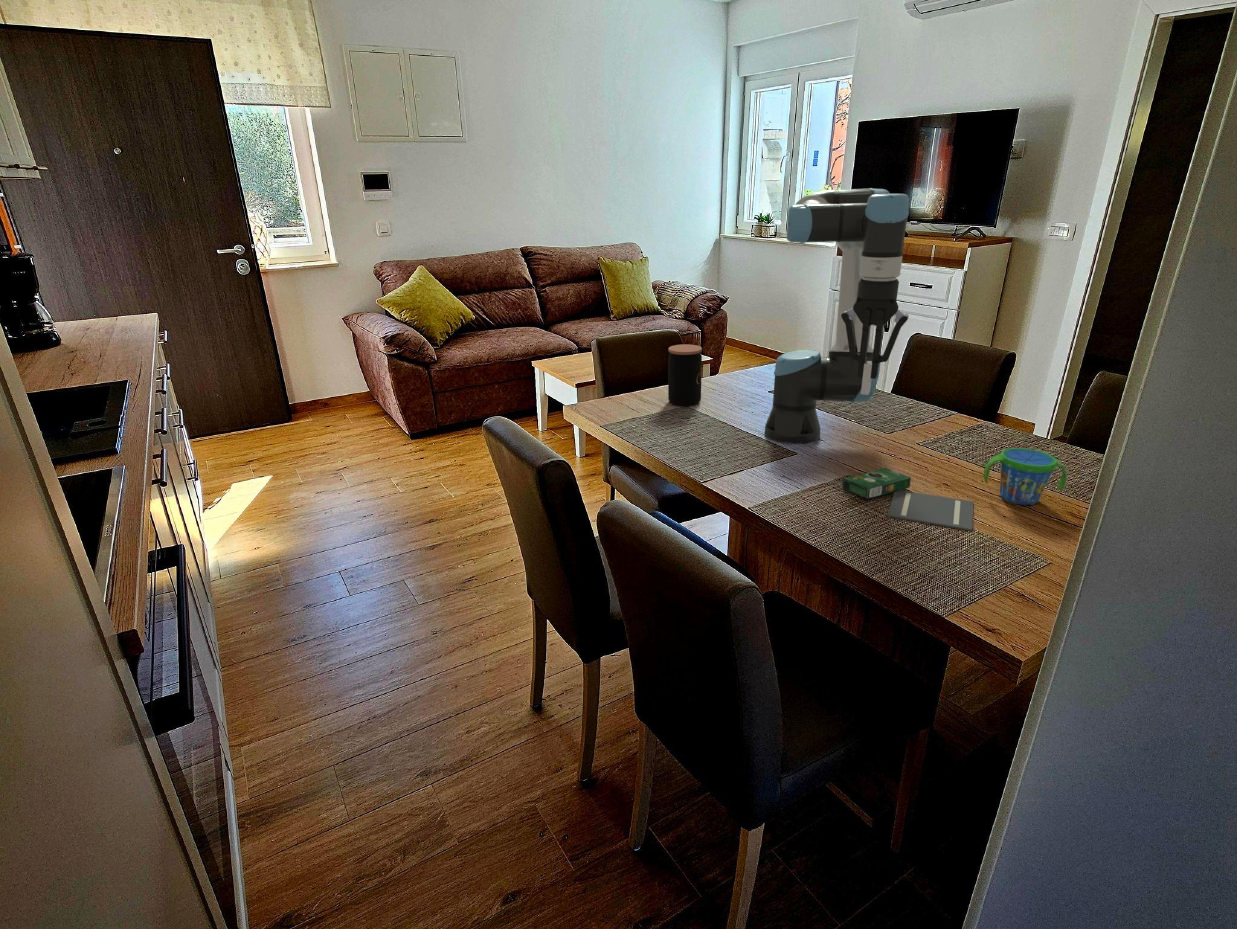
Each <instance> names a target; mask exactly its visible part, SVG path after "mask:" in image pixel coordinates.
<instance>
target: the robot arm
mask: <svg viewBox="0 0 1237 929" xmlns="http://www.w3.org/2000/svg"><path fill="white" fill-rule="evenodd" d="M909 206H910V197H909V195H908V194H905V193H890V191H889V190H887V189H884V188H873V187H869V188H852V189H851V188H849V189H826V190H821V191H816V192H813V193H810V194H807V195H805V196H803V197H802V198H800V199H799V200H798V201H797V202H796V203H795V204H793V205H791V206H789V208H788V209H787V210H788V211H787V222H786V223H787V226H786V227H787V228H786V240H787V242H790V243H799V244H805V243H835V242H836V245H837V247H838V248H839V249H840V250H841V251H842V254H841V268H840V280H839V281H840V282H839V293H838V294H839V295H838V305H837V306H838V307H837V320H836V321H837V322H836V332H835V343H834V345H833V346H831V348H830V349H829V350H828V356H822V355H821V352H820V351H818V350H817V349H815V350H814V349H813V350H812V349H800V350H792V351H788V352H786V353H782V354H781V355H779V356H778V357H777V358H776V360H775V366H774V371H773V375H774V383H773V394H772V395H773V397H772V407H771V410H770V413H769V415H768V417H767V420H766V422H765V425H764V435H765V436H766V437H767V439H770V440H772V441H776V442H780V443H784V444H809V443H812V442H815V441H817V440H819V438H820V437H821V425H820V421H819V416H818V413H817V402H818V401H826V402H827V401H828V402H848V403H849V402H851V403H855V402H856V403H859V402H860V403H861V402H864V403H866V402H868V401H870V400H871V399H872V397H873V396H874V394H875V391H876V388H877V385H878V382H879V377H880V371H881V363H886V362H887V361H888V360H889V359H890V356H891V354H892V351H893V348H894V346H895V345H896V344H895V343H896V341H897V339H898V336H899V333H900V331H901V328H902V327H903V326H904V325H905V324H906V322H907V321H908V319H909V316H910V315H909V314H908V313H903V311H901V310H900V309H899V305H898V302H897V301H898V300H897V299H898V293H899V286H900V280H899V279H898V278H899V277H900V275H901V270H902V264H903V263H902V262H903V252H904V251H903V250H904V242H905V236H906V230H907V224H908V217H909V215H910V211H909ZM893 316H894V317H895V318H894V323H895V325H894V326H893V329H892V332H891V334H890V337H889V339H888V342H887V344H886V347H885V349H884V352H883V354H881V353H882V343H883V336H884V329H885V325H886V324H887V323H888V322H889V321H890V320H891V319H892V318H893ZM872 326H875V333H874V343H873V348H872V346H871V344H870V341H871V332H872V330H871V329H872Z"/></svg>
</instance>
